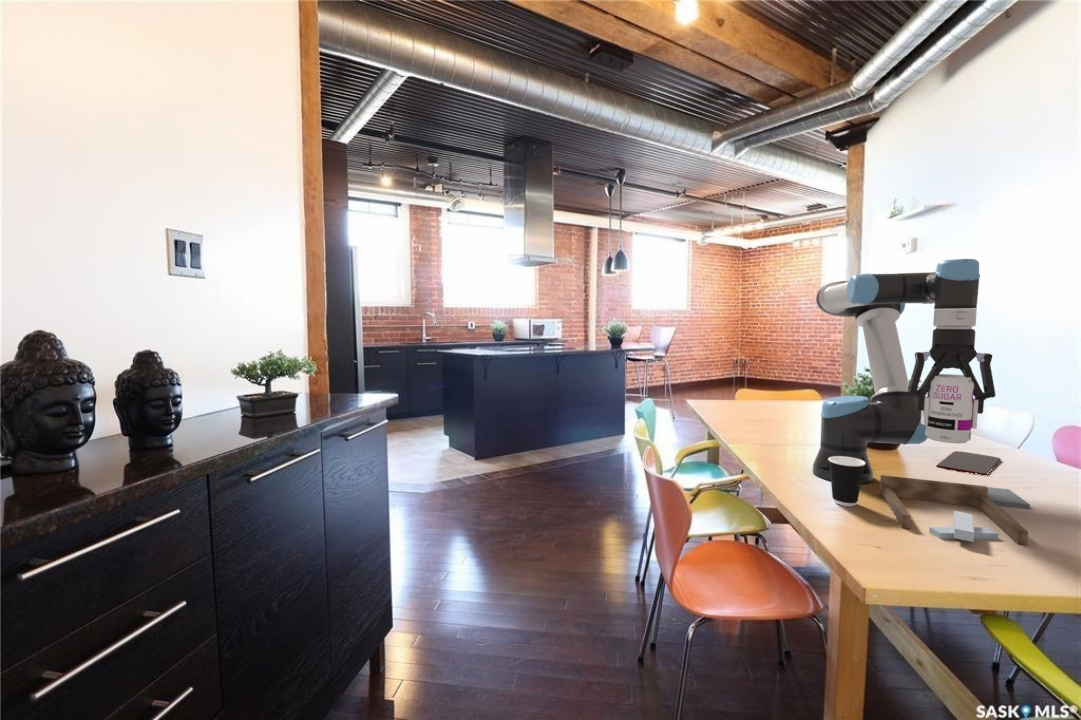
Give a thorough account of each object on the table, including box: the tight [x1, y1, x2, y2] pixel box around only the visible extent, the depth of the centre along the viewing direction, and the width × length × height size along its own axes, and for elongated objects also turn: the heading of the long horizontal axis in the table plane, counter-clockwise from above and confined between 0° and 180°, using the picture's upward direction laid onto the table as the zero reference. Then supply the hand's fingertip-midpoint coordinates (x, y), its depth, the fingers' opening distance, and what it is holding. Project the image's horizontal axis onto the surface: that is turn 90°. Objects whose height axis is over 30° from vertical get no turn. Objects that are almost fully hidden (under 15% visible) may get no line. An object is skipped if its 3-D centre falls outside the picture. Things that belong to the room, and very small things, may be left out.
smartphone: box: [935, 450, 1002, 476], centre depth 157 cm, size 12×2×25 cm
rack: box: [879, 474, 1029, 546], centre depth 116 cm, size 22×24×5 cm
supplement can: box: [925, 373, 974, 444], centre depth 115 cm, size 8×8×15 cm
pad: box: [986, 486, 1031, 509], centre depth 128 cm, size 12×12×1 cm
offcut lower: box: [928, 526, 999, 540], centre depth 106 cm, size 12×3×2 cm, turn 89°
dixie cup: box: [828, 456, 866, 507], centre depth 124 cm, size 8×8×11 cm
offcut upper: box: [952, 510, 975, 543], centre depth 105 cm, size 12×3×2 cm, turn 141°
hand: (947, 425), depth 115 cm, fingers closed on supplement can, 8 cm apart
